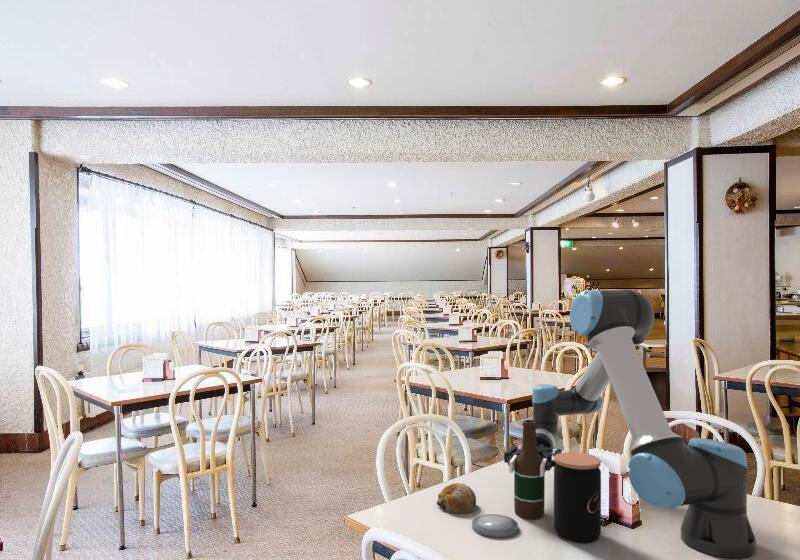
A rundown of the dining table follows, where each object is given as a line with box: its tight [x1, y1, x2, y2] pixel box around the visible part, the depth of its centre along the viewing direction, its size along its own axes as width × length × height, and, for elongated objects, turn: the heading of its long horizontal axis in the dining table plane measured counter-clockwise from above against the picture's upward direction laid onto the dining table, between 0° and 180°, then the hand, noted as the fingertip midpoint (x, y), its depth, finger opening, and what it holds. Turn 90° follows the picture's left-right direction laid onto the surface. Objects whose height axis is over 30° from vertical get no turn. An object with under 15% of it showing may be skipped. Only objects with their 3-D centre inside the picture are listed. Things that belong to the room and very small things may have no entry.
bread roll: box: [436, 482, 477, 515], centre depth 153 cm, size 10×10×8 cm
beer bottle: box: [513, 419, 546, 521], centre depth 148 cm, size 8×8×24 cm
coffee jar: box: [553, 451, 602, 544], centre depth 136 cm, size 11×11×18 cm
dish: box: [471, 513, 519, 539], centre depth 140 cm, size 11×11×1 cm
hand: (526, 469), depth 144 cm, fingers closed on beer bottle, 7 cm apart
